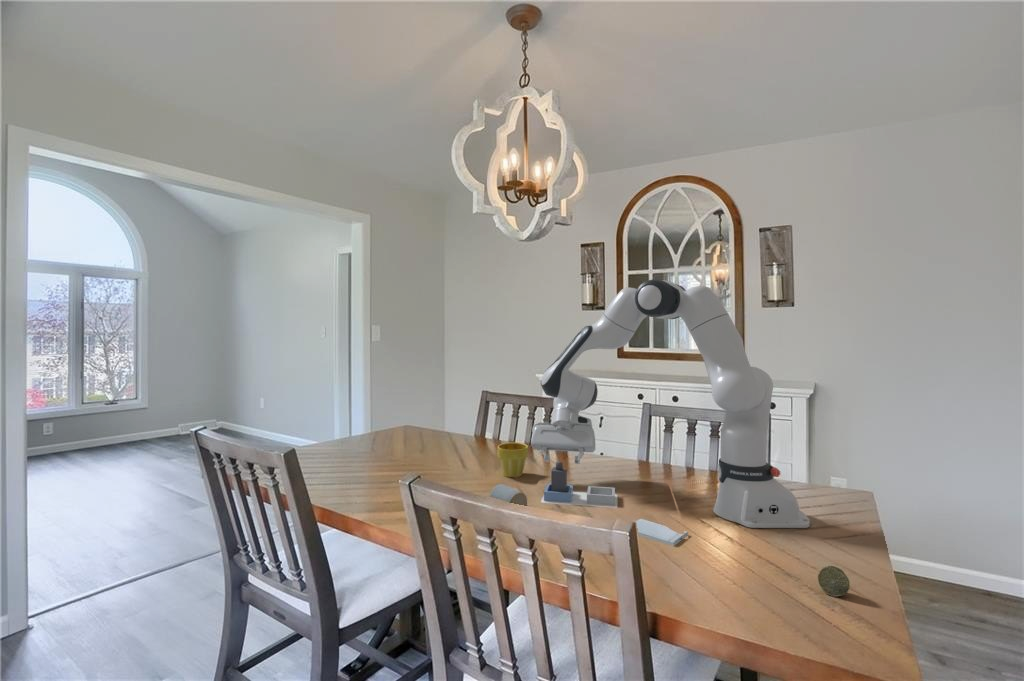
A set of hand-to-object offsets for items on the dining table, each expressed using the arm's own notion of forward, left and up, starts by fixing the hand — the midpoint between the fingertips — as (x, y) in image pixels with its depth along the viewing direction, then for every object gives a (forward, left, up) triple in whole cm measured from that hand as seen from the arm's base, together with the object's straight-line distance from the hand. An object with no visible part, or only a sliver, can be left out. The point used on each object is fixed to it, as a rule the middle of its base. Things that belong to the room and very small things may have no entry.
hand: (561, 461), depth 155 cm
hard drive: (-26, +28, -9) cm, 39 cm away
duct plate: (-6, +10, -9) cm, 14 cm away
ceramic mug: (+11, +23, -9) cm, 27 cm away
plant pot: (+18, -13, -9) cm, 24 cm away
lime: (-56, +50, -9) cm, 76 cm away
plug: (0, +10, -8) cm, 12 cm away
